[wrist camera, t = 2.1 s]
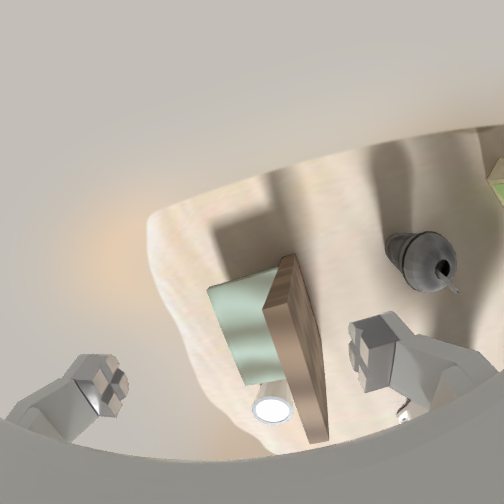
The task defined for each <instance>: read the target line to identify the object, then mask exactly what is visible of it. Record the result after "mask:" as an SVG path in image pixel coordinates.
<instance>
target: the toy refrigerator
mask: <svg viewBox="0 0 504 504" xmlns="http://www.w3.org/2000/svg"><path fill="white" fill-rule="evenodd" d="M487 182H488V184H489V185H490V187H491V188H492V190H493V191H494V193H495V194H496V196H497V197H498V199H499V201H500V202H501V204H502V205H503V207H504V157H502V158H499V160H498V161H497V163H496V165H495V167H494V168H493V170H492V172H491V173H490V175H489V177H488V178H487Z"/></svg>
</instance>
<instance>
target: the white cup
mask: <svg viewBox="0 0 504 504" xmlns="http://www.w3.org/2000/svg"><path fill="white" fill-rule="evenodd" d="M252 413H253V415H254V416H255V417H256V418H257V419H258V420H259V421H261V422H263V423H265V424H271V425H276V424H282V423H284V422H287V421H288V420H289V419H290V418H291V417H292V414H293V396H292V394H291V391H290V388H289V385H288V383H287V380H286V379H282V380H277V381H271V382H266V383H262V385H261V387H260V389H259V392H258V394H257V396H256V398H255V401H254V403H253V405H252Z"/></svg>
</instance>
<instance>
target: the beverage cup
mask: <svg viewBox="0 0 504 504" xmlns="http://www.w3.org/2000/svg"><path fill="white" fill-rule="evenodd" d="M385 252H386V255H387V256H388V258H389V259H390V261H391V262H392V263H393V264H394V265H395V266H396V267H397V268H398V269H399V270H400V271H401V273H402V274H403V276H404V278H405V280H406V282H407V283H408V285H410V286H411V287H412V288H413V289H415V290H418V291H421V292H425V293H433V292H437V291H440V290H442V289H444V288H445V287H446V286H447V285H448V286H449V287H450V288H451V289H452V290H453V291H454V292H455V293H456V294H459V293H460V290H459V289H458V288H457V287H456V286H455V285H454V284H453V283H452V282H451V280H452V279H453V277H454V274H455V272H456V266H457V260H456V254H455V251H454V249H453V247H452V245H451V244H450V243H449V242H448V241H447V240H446V239H445V238H444V237H443V236H442V235H440V234H438V233H436V232H430V231H425V232H423V233H419V234H412V233H396V234H393V235H392V236H390V237H389V238H388V240H387V241H386V244H385Z"/></svg>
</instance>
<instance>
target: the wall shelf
mask: <svg viewBox="0 0 504 504" xmlns="http://www.w3.org/2000/svg"><path fill="white" fill-rule="evenodd" d="M207 293H208V296H209V298H210V301H211V304H212V306H213V309H214V311H215V314H216V316H217V319H218V322H219V324H220V327H221V329H222V332H223V334H224V337H225V339H226V341H227V344H228V346H229V349H230V351H231V354H232V356H233V358H234V361H235V363H236V365H237V368H238V370H239V372H240V375H241V377H242V379H243V382H244V384H245V386H248V385H254V384H260V383H266V382H271V381H277V380H282V379H286V380H287V383H288V385H289V388H290V391H291V394H292V396H293V399H294V402H295V405H296V408H297V410H298V413H299V416H300V419H301V421H302V424H303V427H304V430H305V432H306V435H307V438H308V441H309V443H310V444H314V443H320V442H325V441H329V428H328V411H327V397H326V384H325V373H324V362H323V352H322V344H321V340H320V336H319V333H318V329H317V326H316V322H315V319H314V315H313V312H312V308H311V305H310V301H309V298H308V295H307V291H306V288H305V285H304V281H303V278H302V275H301V272H300V268H299V265H298V262H297V259H296V256H295V254H292V255H289V256H285V257H282V260H281V262H280V265H279V267H276V268H272V269H269V270H266V271H262V272H259V273H256V274H252V275H249V276H245V277H242V278H238V279H235V280H232V281H228V282H225V283H221V284H218V285H214V286H211V287H209V288H208V289H207Z"/></svg>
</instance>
